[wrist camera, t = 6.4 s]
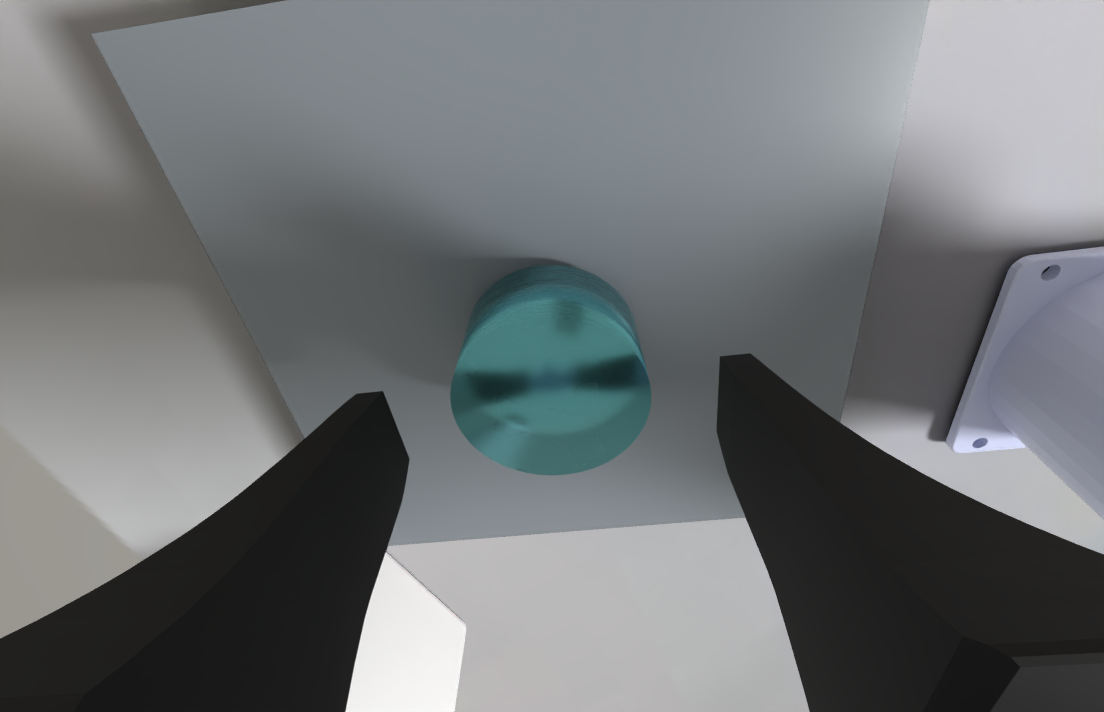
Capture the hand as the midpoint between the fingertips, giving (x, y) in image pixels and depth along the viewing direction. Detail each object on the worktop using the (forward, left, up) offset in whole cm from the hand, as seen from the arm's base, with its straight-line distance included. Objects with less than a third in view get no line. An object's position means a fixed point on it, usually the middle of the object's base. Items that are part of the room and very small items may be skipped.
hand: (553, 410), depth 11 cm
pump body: (0, 0, -7) cm, 7 cm away
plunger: (0, 0, -7) cm, 7 cm away
